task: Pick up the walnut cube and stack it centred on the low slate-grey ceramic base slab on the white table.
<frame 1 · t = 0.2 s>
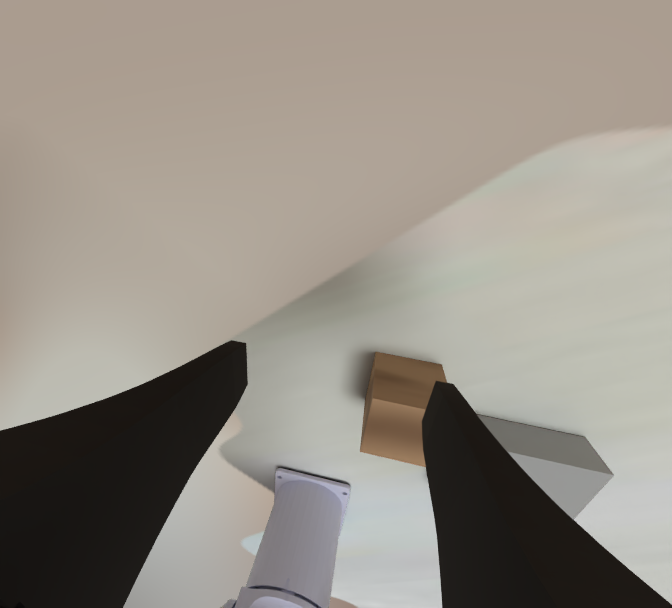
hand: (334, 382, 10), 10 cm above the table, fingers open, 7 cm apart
base: (502, 460, 24), on the table
block: (401, 382, 22), on the table
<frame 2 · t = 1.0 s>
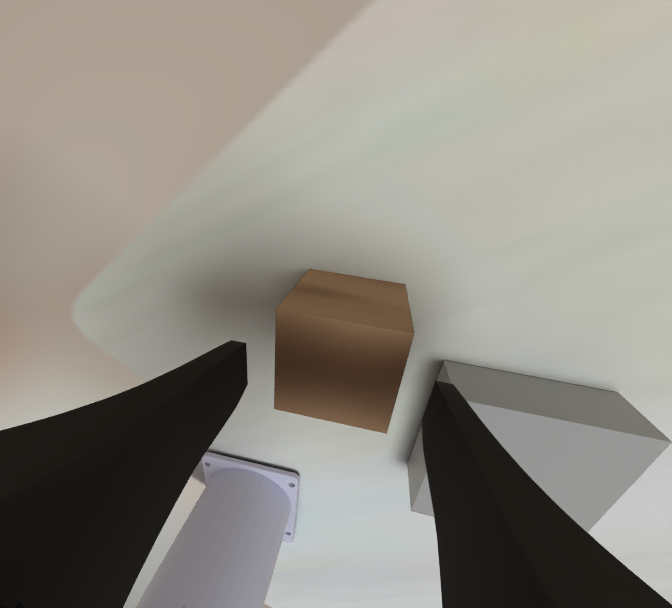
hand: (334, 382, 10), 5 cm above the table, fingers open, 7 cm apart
base: (498, 433, 17), on the table
block: (350, 318, 15), on the table
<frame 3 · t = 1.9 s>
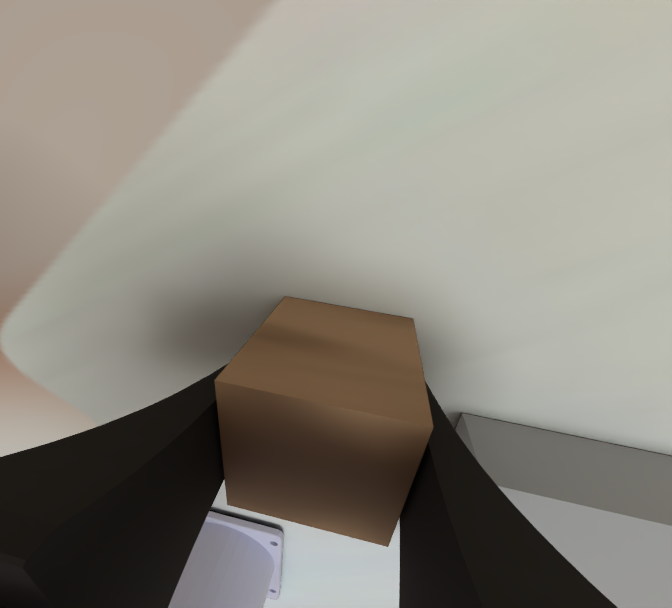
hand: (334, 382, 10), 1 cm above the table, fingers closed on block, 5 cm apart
base: (529, 500, 13), on the table
block: (340, 359, 12), on the table, touching gripper
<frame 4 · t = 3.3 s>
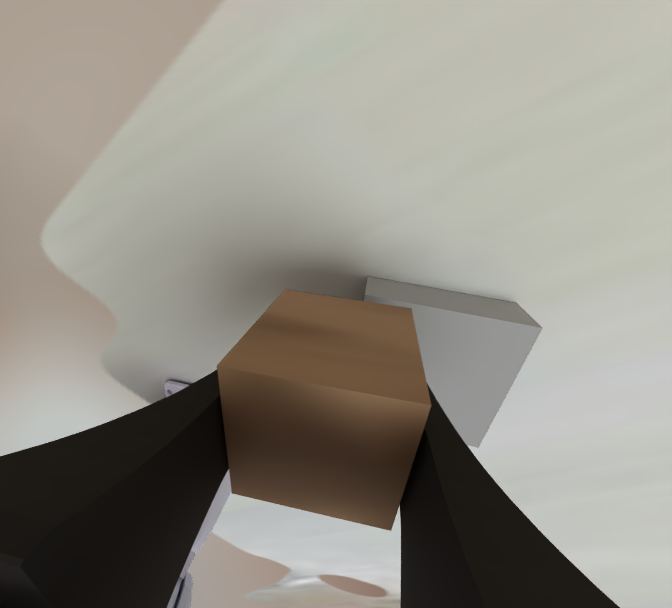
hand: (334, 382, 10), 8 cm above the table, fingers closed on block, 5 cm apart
base: (421, 349, 19), on the table
block: (340, 351, 12), point 7 cm above the table, touching gripper
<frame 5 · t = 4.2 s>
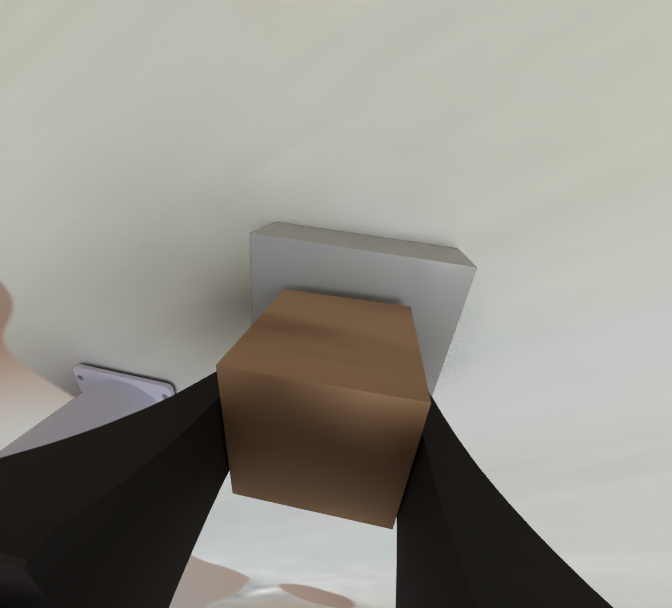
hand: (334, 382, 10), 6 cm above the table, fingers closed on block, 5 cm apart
base: (351, 315, 15), on the table
block: (340, 350, 12), point 4 cm above the table, touching gripper
when the fingers open (6 cm above the table, at t = 4.6 s): block stays where it is, resting on base.
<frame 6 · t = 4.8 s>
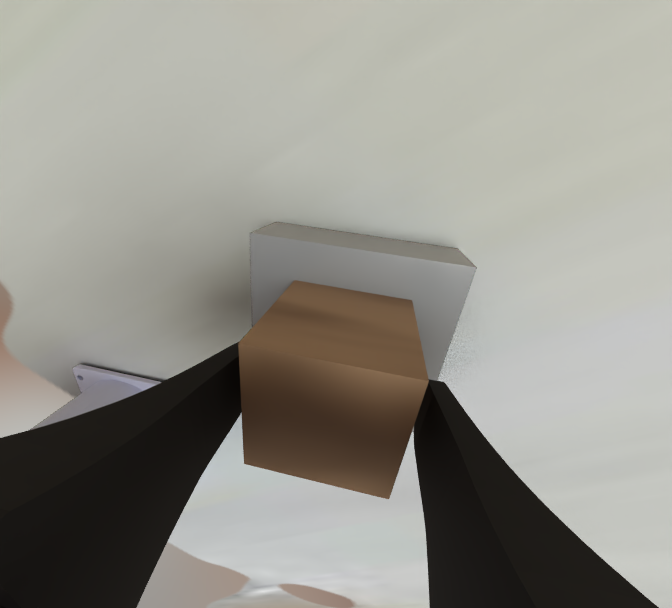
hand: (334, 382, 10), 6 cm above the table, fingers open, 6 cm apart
base: (351, 315, 15), on the table
block: (344, 339, 13), point 3 cm above the table, touching base
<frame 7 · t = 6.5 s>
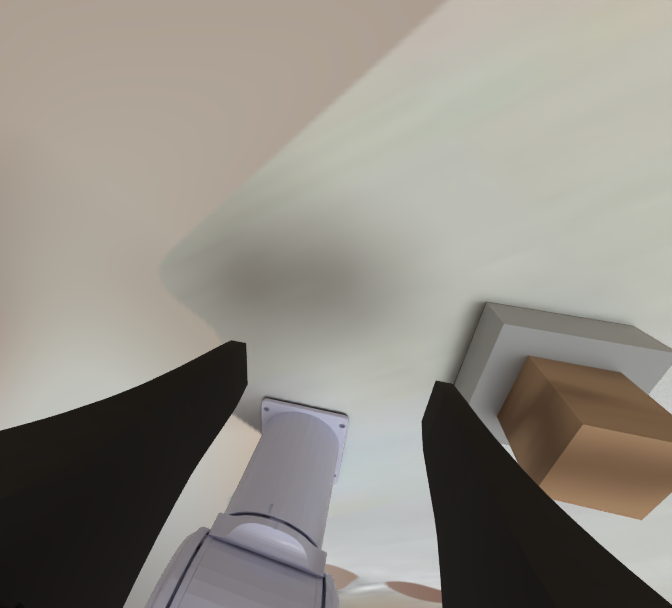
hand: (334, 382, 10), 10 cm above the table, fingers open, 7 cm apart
base: (529, 369, 20), on the table
block: (553, 396, 17), point 3 cm above the table, touching base
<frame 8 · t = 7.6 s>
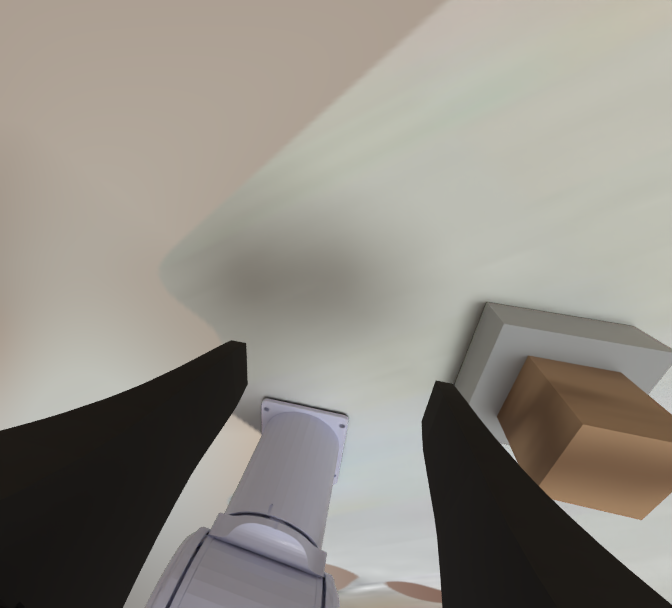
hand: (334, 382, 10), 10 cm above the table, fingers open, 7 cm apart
base: (529, 369, 20), on the table
block: (553, 396, 17), point 3 cm above the table, touching base
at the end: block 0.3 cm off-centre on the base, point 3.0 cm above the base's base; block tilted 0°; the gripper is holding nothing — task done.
